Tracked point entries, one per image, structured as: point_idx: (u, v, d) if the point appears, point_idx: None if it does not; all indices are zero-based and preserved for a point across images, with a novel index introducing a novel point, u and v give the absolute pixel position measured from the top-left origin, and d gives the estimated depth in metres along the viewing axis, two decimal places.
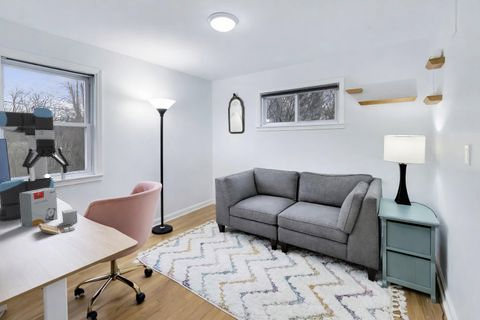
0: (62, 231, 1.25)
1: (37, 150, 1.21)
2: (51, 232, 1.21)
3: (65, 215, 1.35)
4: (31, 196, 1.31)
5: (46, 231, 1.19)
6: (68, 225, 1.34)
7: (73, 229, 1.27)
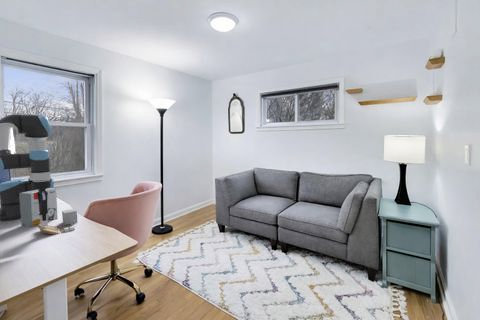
0: (62, 231, 1.25)
1: (38, 191, 1.22)
2: (51, 232, 1.21)
3: (65, 215, 1.35)
4: (31, 196, 1.31)
5: (46, 231, 1.19)
6: (68, 225, 1.34)
7: (73, 229, 1.27)
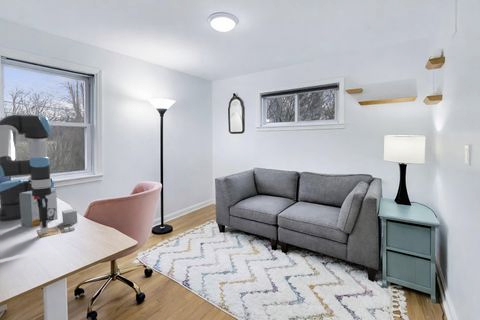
0: (62, 231, 1.25)
1: None
2: None
3: (65, 215, 1.35)
4: (31, 196, 1.31)
5: None
6: (68, 225, 1.34)
7: (73, 229, 1.27)
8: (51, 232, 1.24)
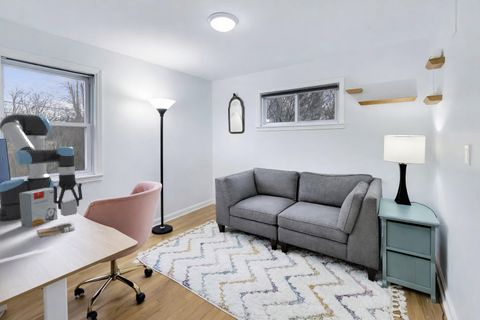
0: (62, 231, 1.25)
1: (61, 185, 1.34)
2: None
3: (64, 204, 1.35)
4: (31, 196, 1.31)
5: None
6: (68, 225, 1.34)
7: (73, 229, 1.27)
8: (51, 232, 1.24)
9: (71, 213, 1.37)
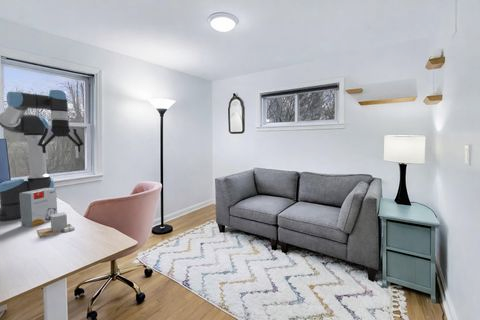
0: (62, 231, 1.25)
1: (53, 130, 1.28)
2: None
3: (53, 219, 1.24)
4: (31, 196, 1.31)
5: None
6: (68, 225, 1.34)
7: (73, 229, 1.27)
8: (51, 232, 1.24)
9: (61, 228, 1.27)
